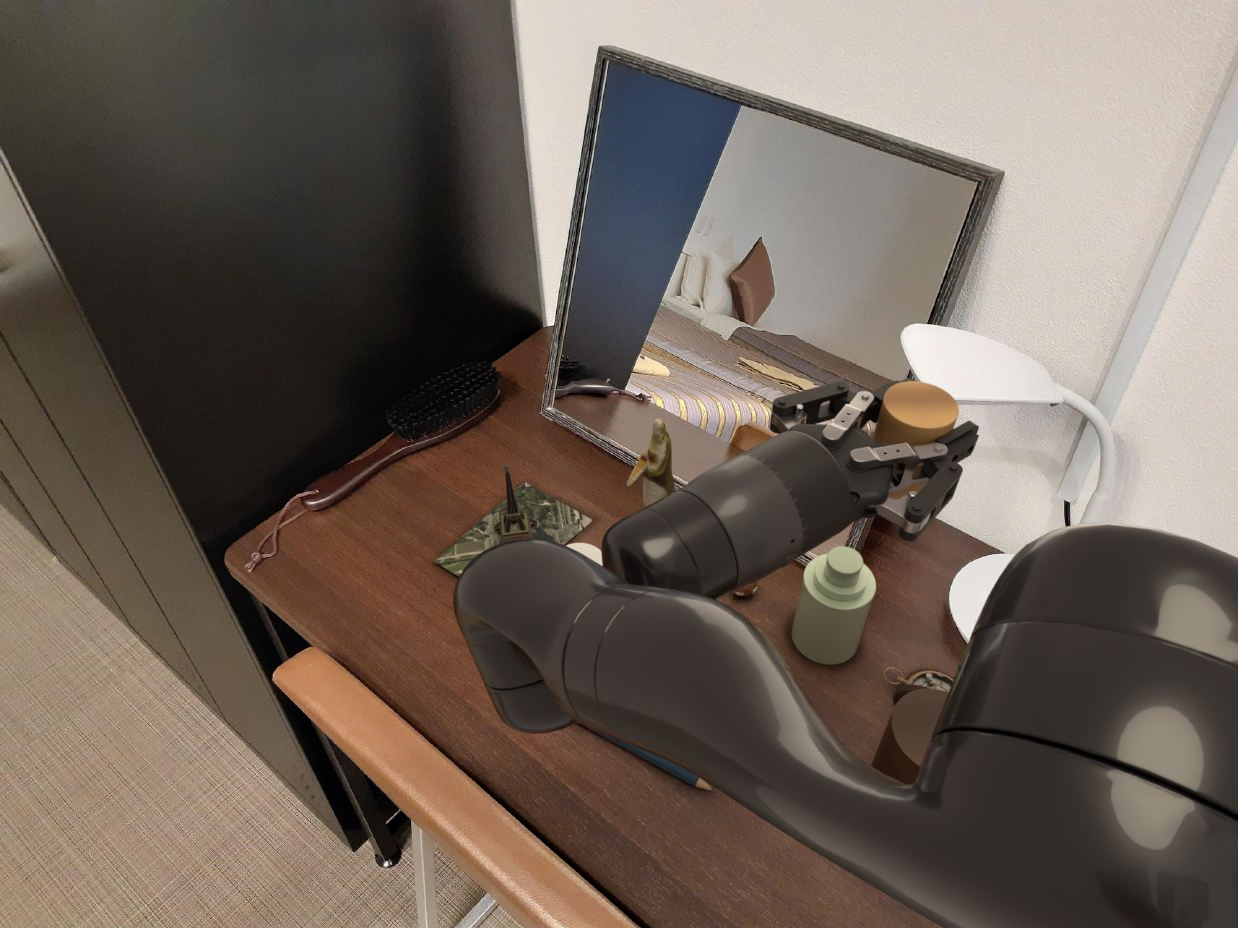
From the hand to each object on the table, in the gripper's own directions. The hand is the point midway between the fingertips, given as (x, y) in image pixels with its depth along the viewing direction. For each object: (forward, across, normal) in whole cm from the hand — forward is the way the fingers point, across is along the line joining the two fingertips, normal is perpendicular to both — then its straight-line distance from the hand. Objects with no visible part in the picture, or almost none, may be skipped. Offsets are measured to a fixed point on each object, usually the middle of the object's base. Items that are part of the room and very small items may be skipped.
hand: (939, 411), depth 61 cm
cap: (-3, 0, +6) cm, 7 cm away
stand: (-8, -13, +32) cm, 35 cm away
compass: (+1, -6, +32) cm, 33 cm away
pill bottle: (-20, +18, +32) cm, 42 cm away
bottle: (-1, +4, +32) cm, 32 cm away
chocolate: (-4, +13, +32) cm, 35 cm away
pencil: (-23, +4, +32) cm, 40 cm away
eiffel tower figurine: (-20, +32, +32) cm, 50 cm away
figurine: (-9, +21, +32) cm, 40 cm away
